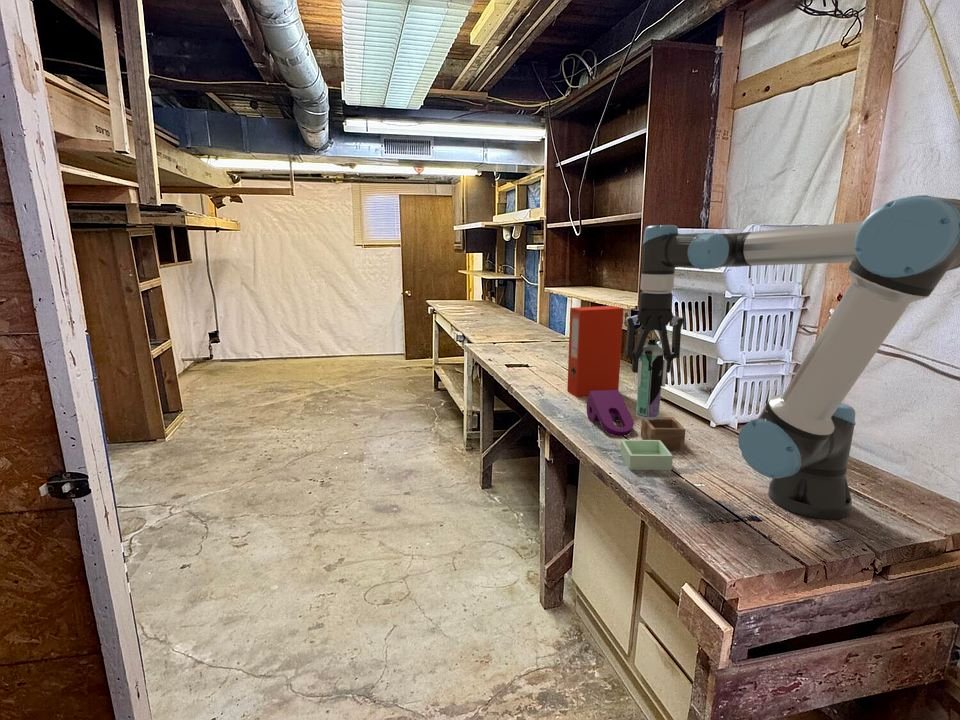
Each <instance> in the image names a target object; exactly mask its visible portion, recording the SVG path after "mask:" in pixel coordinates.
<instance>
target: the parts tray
mask: <svg viewBox="0 0 960 720" xmlns="http://www.w3.org/2000/svg"><path fill="white" fill-rule="evenodd" d="M619 454H620V456H621V457H622V460H623V461H624V463H625V465H626V466H627V469H628V470H629V471H635V470H636V471H672V470H673V469H672V468H673V459H674V457H673V454H672V453H671V452H670V450H668V449H667V448H666V447H665V446H664V444H663V443H662V442H661V441H660V440H643V439H620V446H619Z"/></svg>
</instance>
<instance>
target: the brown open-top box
mask: <svg viewBox="0 0 960 720" xmlns="http://www.w3.org/2000/svg"><path fill="white" fill-rule="evenodd" d="M640 425H641V426H640V437H641V440H660V441H661V442H662V443H663V444H664V446H665V447H666V448H667V449H668V451H684V450H685V439H686V428H685V427H684V426H683V425H682V424H681V423H680V422H679V421H678V420H677V419H676V417H674V416H661V415H659V418H658V419H656V420H644V419H641V423H640Z"/></svg>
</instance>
